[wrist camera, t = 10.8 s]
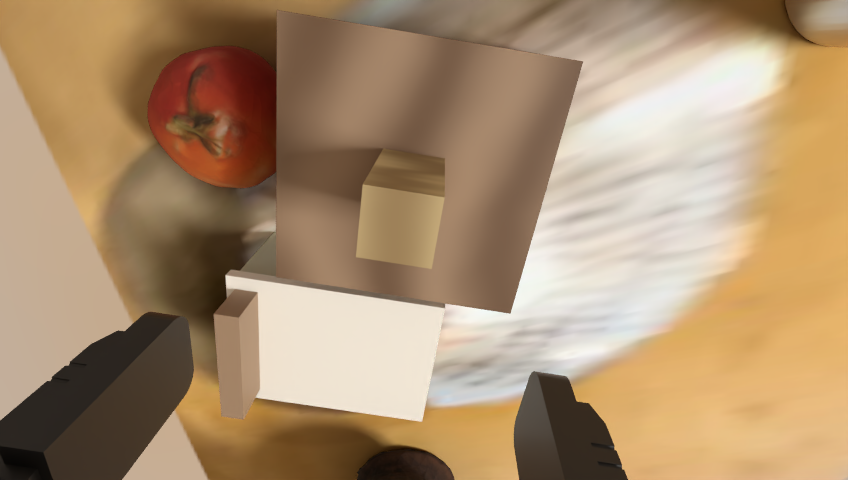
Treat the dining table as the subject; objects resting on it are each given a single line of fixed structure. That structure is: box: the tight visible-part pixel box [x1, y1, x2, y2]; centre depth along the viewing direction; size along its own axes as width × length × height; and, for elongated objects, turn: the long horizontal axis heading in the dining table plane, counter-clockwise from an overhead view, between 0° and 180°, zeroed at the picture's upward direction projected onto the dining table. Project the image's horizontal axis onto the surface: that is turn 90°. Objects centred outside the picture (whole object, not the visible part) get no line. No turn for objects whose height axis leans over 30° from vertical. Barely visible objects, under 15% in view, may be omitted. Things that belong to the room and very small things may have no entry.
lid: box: [214, 270, 445, 422], centre depth 31 cm, size 15×11×4 cm
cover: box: [276, 10, 583, 313], centre depth 25 cm, size 14×14×17 cm
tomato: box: [148, 46, 277, 188], centre depth 29 cm, size 9×9×8 cm
